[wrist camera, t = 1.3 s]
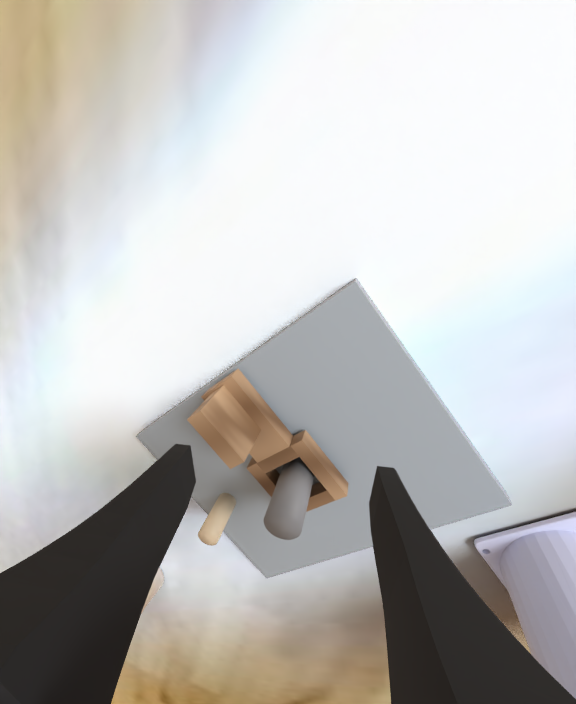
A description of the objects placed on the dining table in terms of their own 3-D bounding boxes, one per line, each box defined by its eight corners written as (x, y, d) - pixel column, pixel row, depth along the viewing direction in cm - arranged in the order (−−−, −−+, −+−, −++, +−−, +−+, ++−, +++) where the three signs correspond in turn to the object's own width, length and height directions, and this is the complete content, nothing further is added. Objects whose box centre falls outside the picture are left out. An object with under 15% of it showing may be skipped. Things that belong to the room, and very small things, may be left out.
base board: (505, 491, 22) (552, 586, 16) (270, 565, 31) (246, 644, 25) (356, 278, 19) (349, 301, 13) (145, 428, 28) (86, 480, 22)
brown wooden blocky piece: (348, 483, 23) (343, 537, 19) (293, 505, 25) (278, 558, 21) (249, 360, 21) (221, 391, 17) (199, 395, 23) (163, 431, 19)
